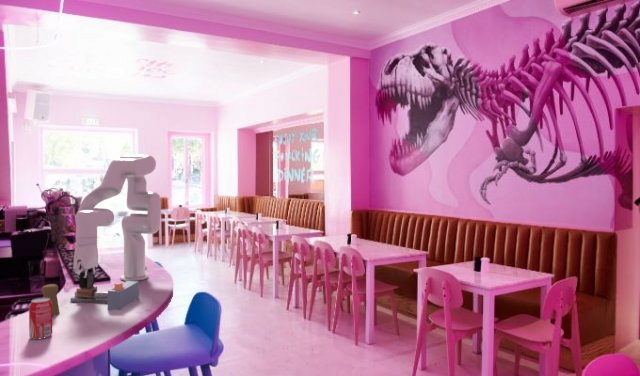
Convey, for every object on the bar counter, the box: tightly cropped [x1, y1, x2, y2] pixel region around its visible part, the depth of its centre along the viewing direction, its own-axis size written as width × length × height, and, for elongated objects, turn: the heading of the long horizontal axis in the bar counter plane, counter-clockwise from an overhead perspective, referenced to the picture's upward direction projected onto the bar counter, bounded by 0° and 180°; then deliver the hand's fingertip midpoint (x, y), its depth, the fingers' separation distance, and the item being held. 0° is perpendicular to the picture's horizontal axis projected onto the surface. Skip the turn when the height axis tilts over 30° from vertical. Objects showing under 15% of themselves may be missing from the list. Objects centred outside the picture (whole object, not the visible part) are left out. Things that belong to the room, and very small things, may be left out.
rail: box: [70, 290, 108, 304], centre depth 179 cm, size 6×19×4 cm, turn 86°
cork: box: [41, 283, 60, 318], centre depth 161 cm, size 6×6×11 cm
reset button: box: [113, 282, 124, 290], centre depth 172 cm, size 3×3×6 cm
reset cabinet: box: [107, 280, 140, 310], centre depth 176 cm, size 15×5×7 cm, turn 176°
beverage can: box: [28, 297, 53, 340], centre depth 140 cm, size 6×6×12 cm
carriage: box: [76, 272, 98, 298], centre depth 179 cm, size 4×6×9 cm
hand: (86, 285), depth 179 cm, fingers closed on carriage, 4 cm apart
